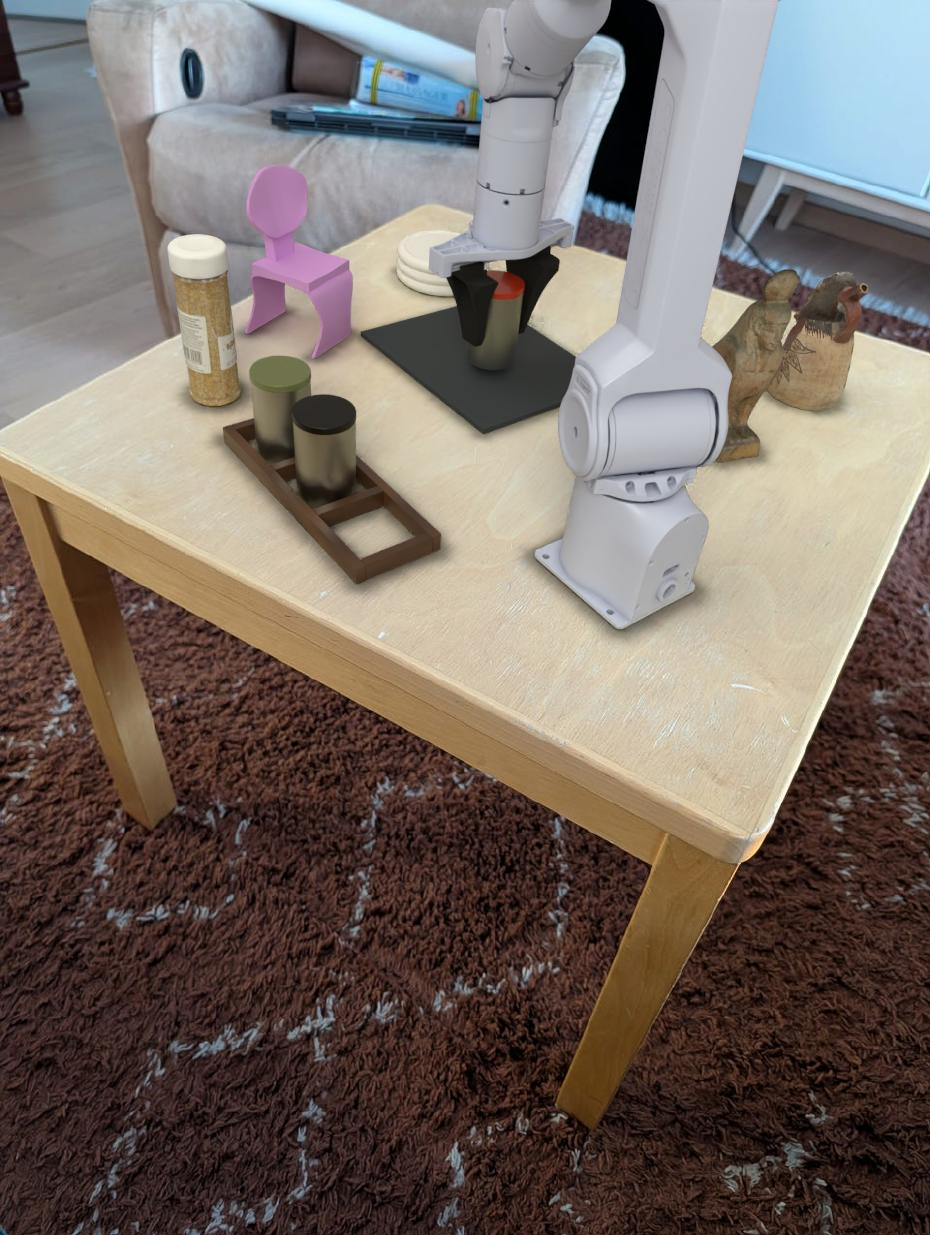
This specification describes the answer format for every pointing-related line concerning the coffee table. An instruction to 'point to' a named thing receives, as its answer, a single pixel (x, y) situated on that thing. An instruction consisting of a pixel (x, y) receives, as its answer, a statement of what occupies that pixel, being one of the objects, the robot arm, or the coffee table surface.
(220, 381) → the sprinkles bottle
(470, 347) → the paprika tin
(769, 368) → the brown carved statuette
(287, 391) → the herb tin
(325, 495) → the cylinder
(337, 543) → the spice rack
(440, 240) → the cream round stack
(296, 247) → the toy chair
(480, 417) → the mat
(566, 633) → the coffee table surface
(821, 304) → the figurine
